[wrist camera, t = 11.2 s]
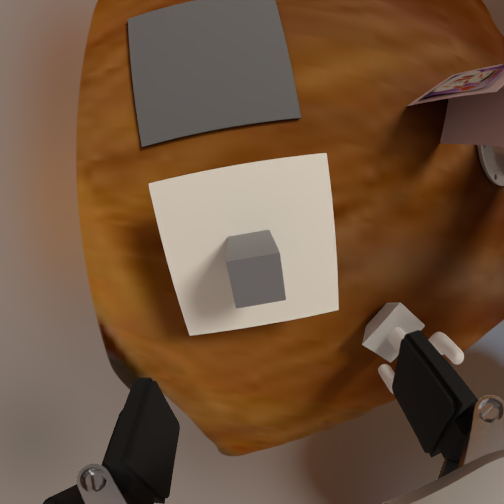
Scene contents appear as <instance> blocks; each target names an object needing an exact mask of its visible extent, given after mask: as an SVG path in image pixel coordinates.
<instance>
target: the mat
mask: <svg viewBox="0 0 504 504" xmlns="http://www.w3.org/2000/svg"><path fill="white" fill-rule="evenodd" d="M128 33H129V48H130V61H131V71H132V81H133V90H134V98H135V105H136V113H137V120H138V126H139V133H140V139H141V145H142V147H145V146H149V145H153V144H156V143H160V142H164V141H168V140H172V139H176V138H181V137H185V136H190V135H194V134H199V133H204V132H209V131H214V130H219V129H224V128H230V127H236V126H242V125H249V124H255V123H263V122H270V121H279V120H288V119H298V118H301V115H300V109H299V103H298V98H297V93H296V88H295V82H294V77H293V73H292V68H291V63H290V58H289V54H288V49H287V45H286V41H285V37H284V32H283V28H282V24H281V20H280V16H279V12H278V9H277V5H276V1H275V0H196V1H191V2H186V3H182V4H177V5H173V6H169V7H166V8H162V9H158V10H155V11H151V12H148V13H145V14H142V15H139V16H136V17H133V18H130V19H128Z"/></svg>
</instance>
